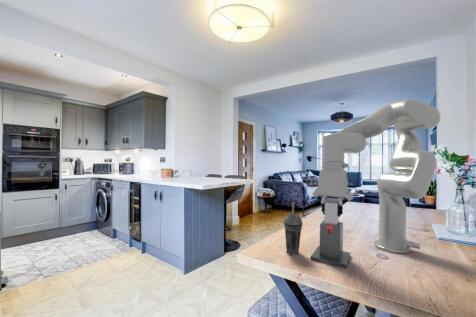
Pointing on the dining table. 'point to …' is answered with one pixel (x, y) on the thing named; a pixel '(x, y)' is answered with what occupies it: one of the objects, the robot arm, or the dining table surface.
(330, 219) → the column
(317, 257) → the stand
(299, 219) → the beverage cup
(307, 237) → the dining table surface
